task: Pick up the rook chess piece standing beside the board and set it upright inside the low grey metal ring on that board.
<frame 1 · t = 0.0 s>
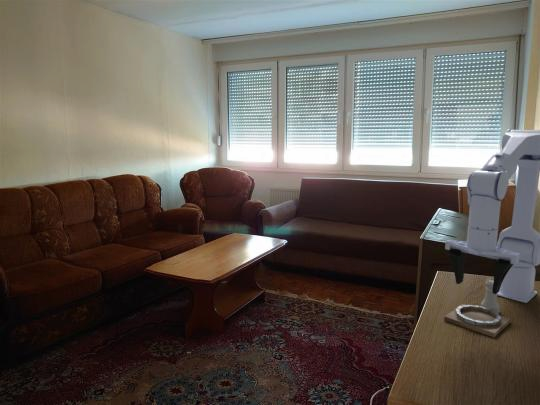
hand: (477, 287, 92), 10 cm above the table, tool pointing down, fingers open, 7 cm apart
rook chess piece: (489, 311, 103), on the table
socket board: (476, 321, 98), on the table
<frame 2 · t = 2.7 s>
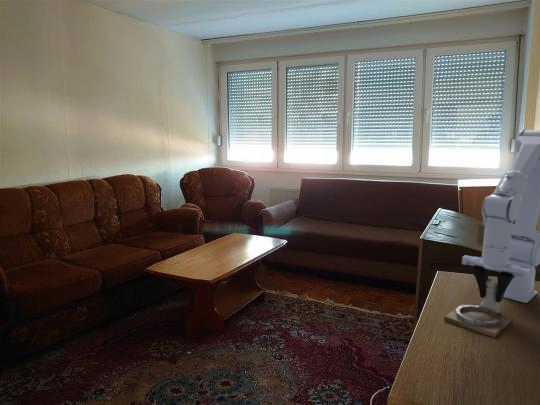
hand: (490, 298, 103), 3 cm above the table, tool pointing down, fingers closed on rook chess piece, 3 cm apart
rook chess piece: (489, 311, 103), on the table, touching gripper
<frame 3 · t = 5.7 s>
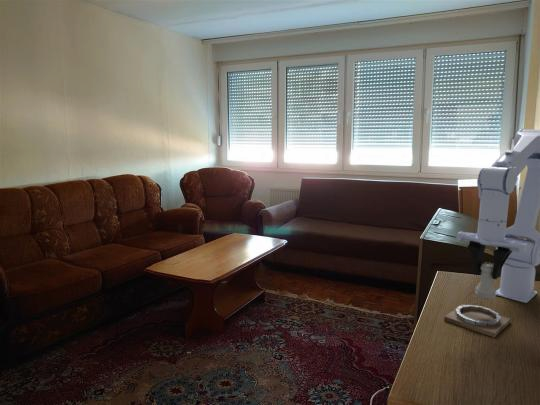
hand: (486, 276, 98), 10 cm above the table, tool pointing down, fingers closed on rook chess piece, 3 cm apart
rook chess piece: (485, 296, 100), point 5 cm above the table, touching gripper
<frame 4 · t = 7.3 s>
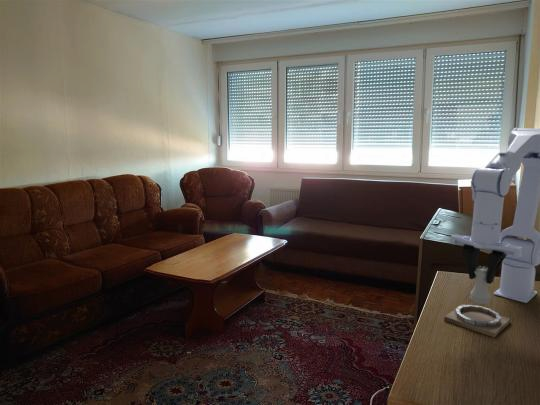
hand: (481, 280, 96), 10 cm above the table, tool pointing down, fingers closed on rook chess piece, 3 cm apart
rook chess piece: (480, 301, 98), point 5 cm above the table, touching gripper
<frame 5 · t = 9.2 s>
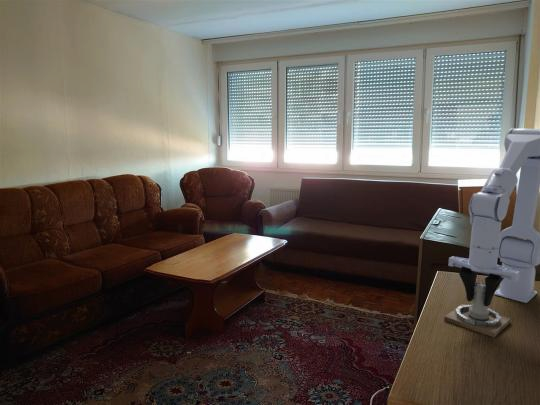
hand: (478, 302, 97), 5 cm above the table, tool pointing down, fingers closed on rook chess piece, 3 cm apart
rook chess piece: (478, 317, 98), point 1 cm above the table, touching gripper, socket board
when the fingers open (5 cm above the table, at t = 10.3 s): rook chess piece stays where it is, resting on socket board.
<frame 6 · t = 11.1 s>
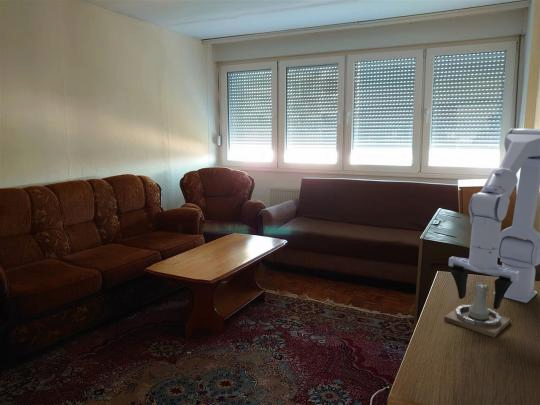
hand: (478, 302, 97), 5 cm above the table, tool pointing down, fingers open, 7 cm apart
rook chess piece: (478, 317, 98), point 1 cm above the table, touching socket board
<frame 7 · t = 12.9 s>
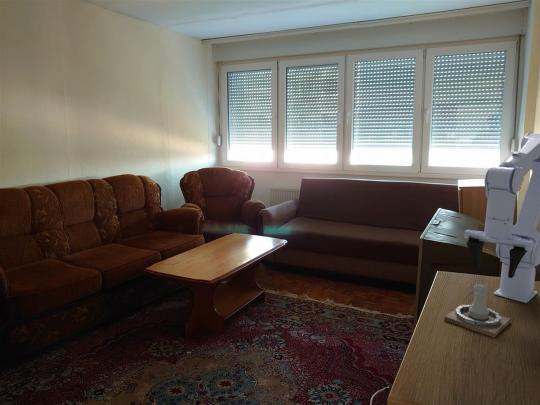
hand: (493, 272, 102), 10 cm above the table, tool pointing down, fingers open, 7 cm apart
nothing on the table moved.
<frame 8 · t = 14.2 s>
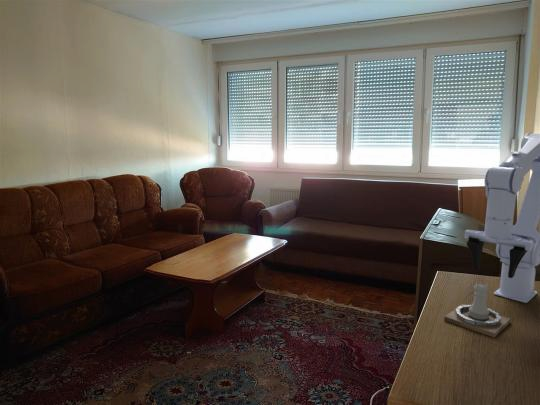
hand: (493, 272, 102), 10 cm above the table, tool pointing down, fingers open, 7 cm apart
nothing on the table moved.
at the end: rook chess piece 0.7 cm off-centre on the socket board, point 0.8 cm above the socket board's base; rook chess piece tilted 0°; the gripper is holding nothing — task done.
